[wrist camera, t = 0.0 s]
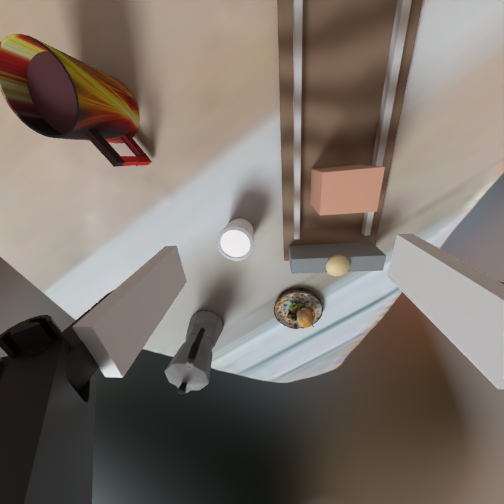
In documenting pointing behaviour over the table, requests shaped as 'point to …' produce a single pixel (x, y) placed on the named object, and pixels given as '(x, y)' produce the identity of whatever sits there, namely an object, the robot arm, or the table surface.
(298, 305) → the burger
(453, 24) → the table surface
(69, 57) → the mug
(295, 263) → the knobbed grey end panels
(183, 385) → the coffeepot
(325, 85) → the rail track
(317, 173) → the salmon pink box
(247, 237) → the white cup
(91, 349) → the robot arm
